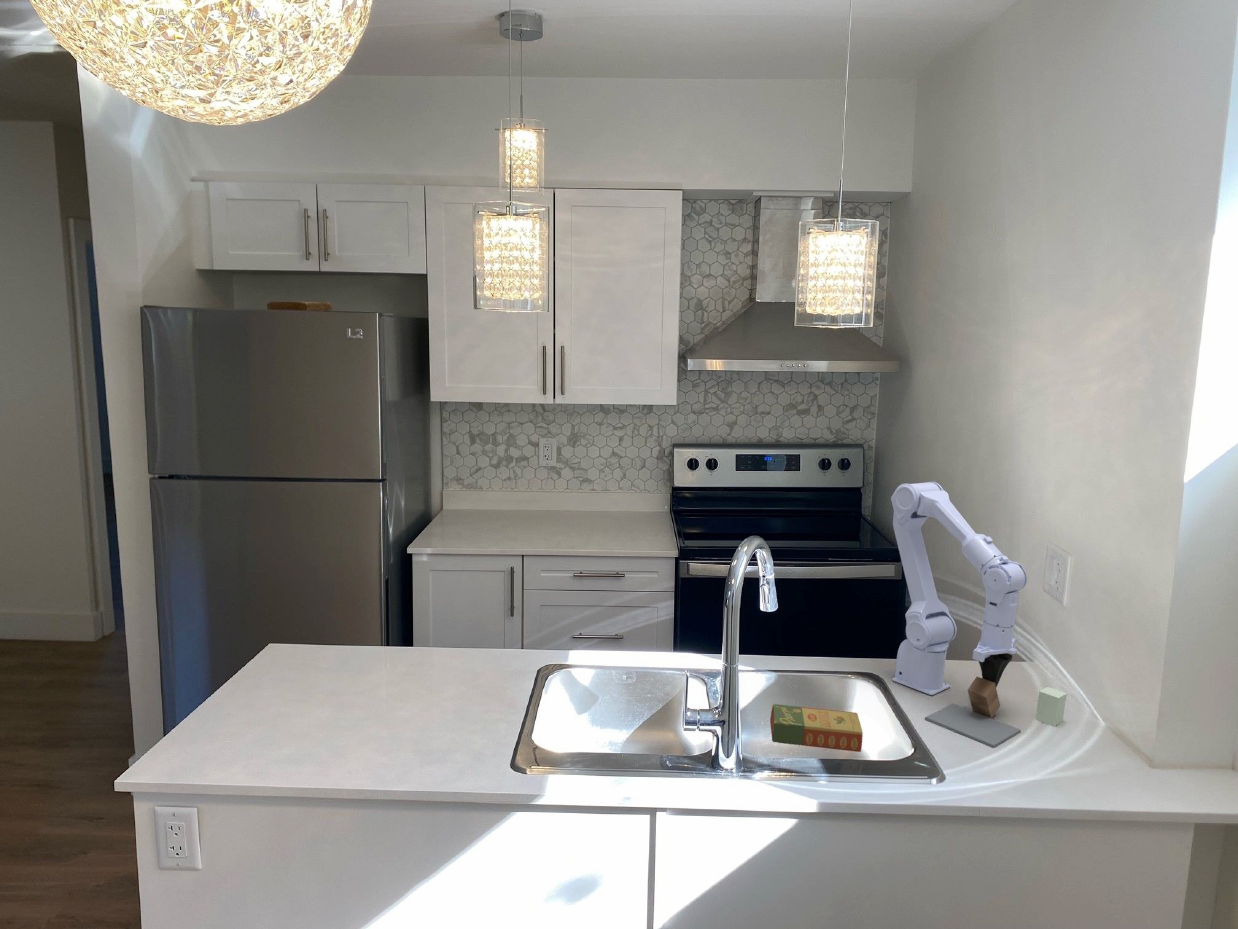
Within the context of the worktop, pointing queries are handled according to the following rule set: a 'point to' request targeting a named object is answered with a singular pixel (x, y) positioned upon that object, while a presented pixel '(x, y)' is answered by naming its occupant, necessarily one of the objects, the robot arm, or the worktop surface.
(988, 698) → the walnut block
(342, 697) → the worktop surface
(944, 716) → the mat
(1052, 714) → the sage block
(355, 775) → the worktop surface
